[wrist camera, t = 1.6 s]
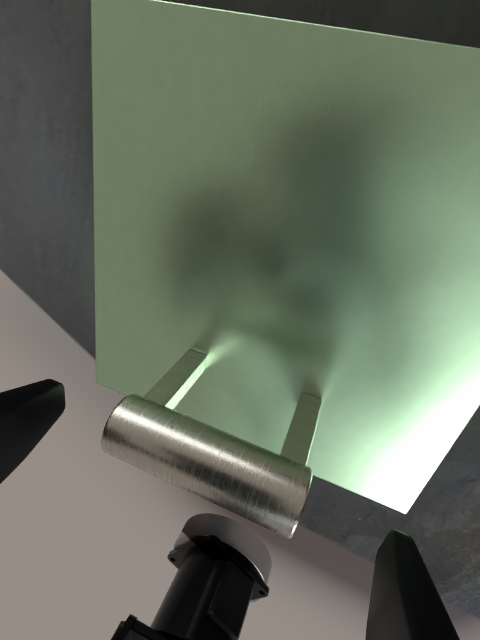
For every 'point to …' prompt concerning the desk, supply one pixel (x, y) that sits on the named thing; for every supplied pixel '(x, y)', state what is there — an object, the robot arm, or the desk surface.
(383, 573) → the robot arm
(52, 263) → the desk surface
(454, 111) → the machine lid
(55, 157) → the desk surface
